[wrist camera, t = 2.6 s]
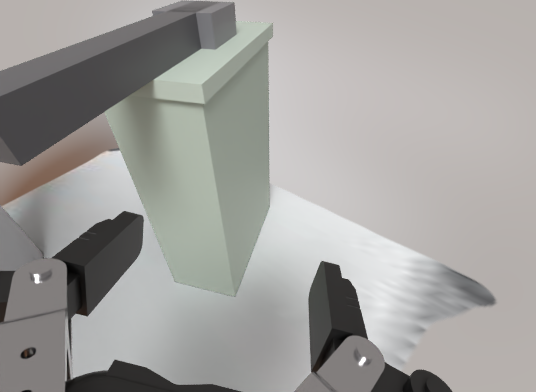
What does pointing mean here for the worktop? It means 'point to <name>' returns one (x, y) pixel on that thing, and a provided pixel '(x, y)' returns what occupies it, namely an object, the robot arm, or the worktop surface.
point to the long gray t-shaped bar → (101, 74)
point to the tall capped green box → (203, 157)
